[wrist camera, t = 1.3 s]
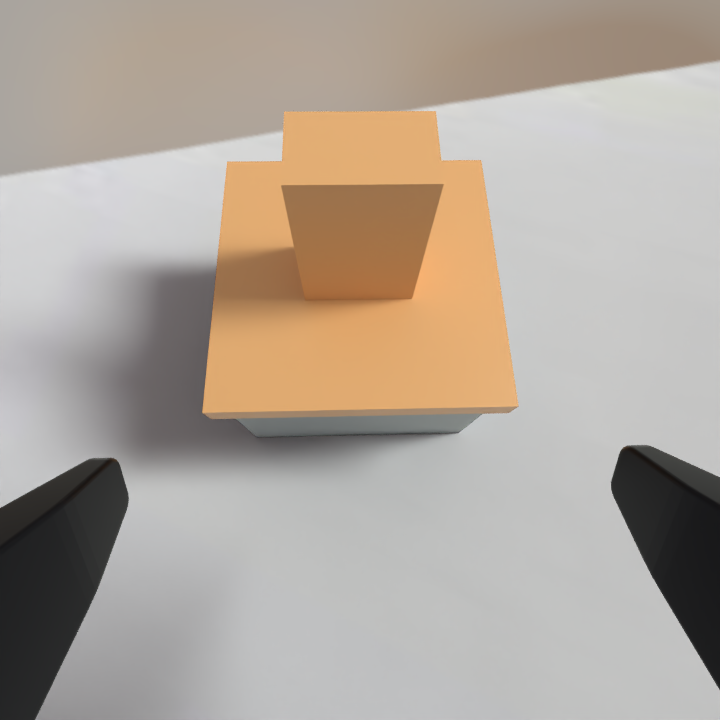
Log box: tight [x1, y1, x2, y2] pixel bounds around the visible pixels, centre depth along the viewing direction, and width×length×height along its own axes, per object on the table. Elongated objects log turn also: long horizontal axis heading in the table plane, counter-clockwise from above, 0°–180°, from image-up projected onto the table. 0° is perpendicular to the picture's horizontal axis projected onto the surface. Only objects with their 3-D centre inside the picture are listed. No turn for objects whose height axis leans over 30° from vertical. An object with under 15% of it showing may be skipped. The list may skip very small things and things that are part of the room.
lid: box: [202, 111, 518, 419], centre depth 15 cm, size 11×11×8 cm
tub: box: [236, 414, 482, 437], centre depth 21 cm, size 10×10×6 cm
